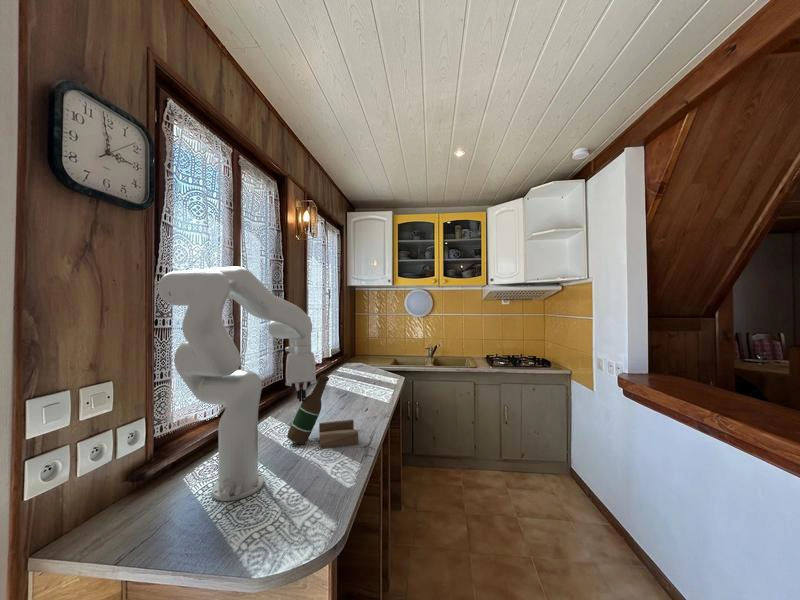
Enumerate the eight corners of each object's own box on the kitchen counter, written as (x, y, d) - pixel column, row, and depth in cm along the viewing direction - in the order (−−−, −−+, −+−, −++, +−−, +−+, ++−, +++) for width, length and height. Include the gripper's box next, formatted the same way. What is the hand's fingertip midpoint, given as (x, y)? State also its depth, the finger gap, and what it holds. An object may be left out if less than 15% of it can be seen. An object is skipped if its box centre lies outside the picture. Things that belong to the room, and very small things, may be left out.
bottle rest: (358, 444, 113) (358, 432, 113) (320, 448, 110) (320, 437, 110) (353, 429, 127) (353, 419, 127) (319, 433, 123) (319, 422, 123)
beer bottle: (309, 441, 117) (337, 379, 121) (301, 446, 110) (331, 380, 114) (291, 432, 118) (319, 371, 123) (282, 436, 111) (312, 371, 115)
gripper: (277, 352, 110) (278, 406, 110) (322, 350, 114) (323, 401, 114) (279, 349, 117) (280, 399, 117) (321, 347, 121) (322, 395, 121)
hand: (301, 400), depth 116 cm, fingers closed
